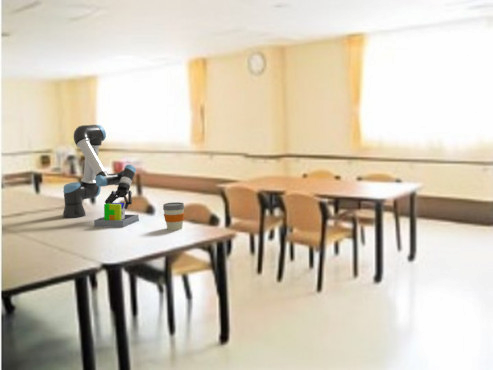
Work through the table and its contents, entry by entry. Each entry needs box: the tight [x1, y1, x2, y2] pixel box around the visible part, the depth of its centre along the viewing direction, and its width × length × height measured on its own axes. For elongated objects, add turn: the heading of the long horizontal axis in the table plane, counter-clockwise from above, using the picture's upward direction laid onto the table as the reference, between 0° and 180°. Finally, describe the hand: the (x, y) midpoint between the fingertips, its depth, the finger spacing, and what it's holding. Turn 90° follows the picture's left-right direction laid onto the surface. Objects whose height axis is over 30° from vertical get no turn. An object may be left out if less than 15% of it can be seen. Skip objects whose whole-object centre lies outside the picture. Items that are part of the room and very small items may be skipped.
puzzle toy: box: [103, 202, 126, 220], centre depth 338 cm, size 10×10×10 cm
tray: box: [93, 214, 140, 228], centre depth 341 cm, size 20×20×4 cm
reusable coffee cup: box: [162, 201, 185, 231], centre depth 318 cm, size 13×13×15 cm
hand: (114, 212), depth 338 cm, fingers closed on puzzle toy, 11 cm apart
